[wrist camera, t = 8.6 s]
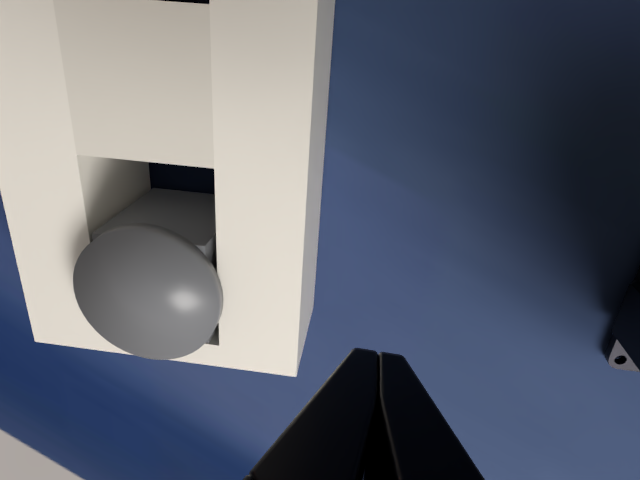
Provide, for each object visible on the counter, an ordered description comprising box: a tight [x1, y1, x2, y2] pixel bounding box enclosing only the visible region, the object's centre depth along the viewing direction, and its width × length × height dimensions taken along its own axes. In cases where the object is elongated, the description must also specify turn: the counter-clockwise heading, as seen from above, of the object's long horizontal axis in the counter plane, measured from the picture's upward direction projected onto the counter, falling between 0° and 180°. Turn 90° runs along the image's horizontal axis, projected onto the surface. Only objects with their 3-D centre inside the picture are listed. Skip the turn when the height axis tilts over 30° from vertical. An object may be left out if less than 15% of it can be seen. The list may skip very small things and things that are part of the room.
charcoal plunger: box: [73, 188, 224, 360], centre depth 19 cm, size 5×5×6 cm
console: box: [0, 0, 335, 377], centre depth 17 cm, size 11×21×5 cm, turn 176°
